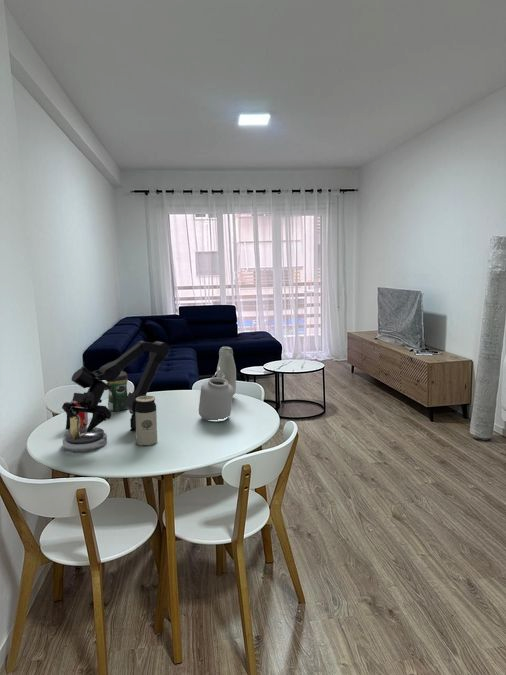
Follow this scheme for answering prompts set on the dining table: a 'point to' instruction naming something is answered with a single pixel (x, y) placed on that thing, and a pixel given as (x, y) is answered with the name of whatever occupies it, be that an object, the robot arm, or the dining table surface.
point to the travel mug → (146, 420)
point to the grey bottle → (227, 367)
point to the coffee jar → (118, 393)
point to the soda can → (81, 416)
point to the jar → (215, 399)
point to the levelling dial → (82, 433)
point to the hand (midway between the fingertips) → (77, 430)
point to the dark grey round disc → (85, 445)
